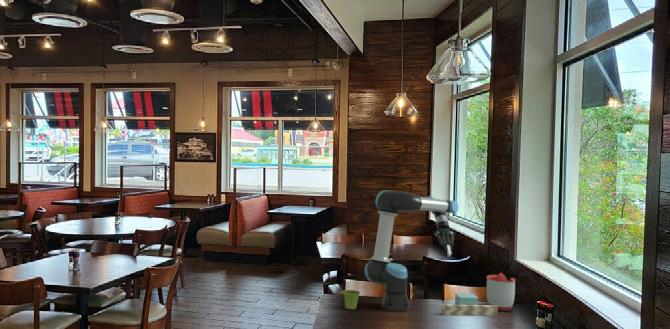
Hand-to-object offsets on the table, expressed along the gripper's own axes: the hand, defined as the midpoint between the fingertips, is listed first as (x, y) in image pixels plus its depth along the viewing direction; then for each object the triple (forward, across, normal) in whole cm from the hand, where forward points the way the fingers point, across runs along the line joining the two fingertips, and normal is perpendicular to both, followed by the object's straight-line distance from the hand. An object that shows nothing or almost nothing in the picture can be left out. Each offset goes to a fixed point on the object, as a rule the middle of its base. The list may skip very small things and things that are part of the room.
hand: (449, 255), depth 271 cm
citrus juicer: (+31, -25, -6) cm, 40 cm away
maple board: (+40, -2, +3) cm, 40 cm away
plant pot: (+34, +61, -3) cm, 70 cm away
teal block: (+37, -2, 0) cm, 37 cm away
